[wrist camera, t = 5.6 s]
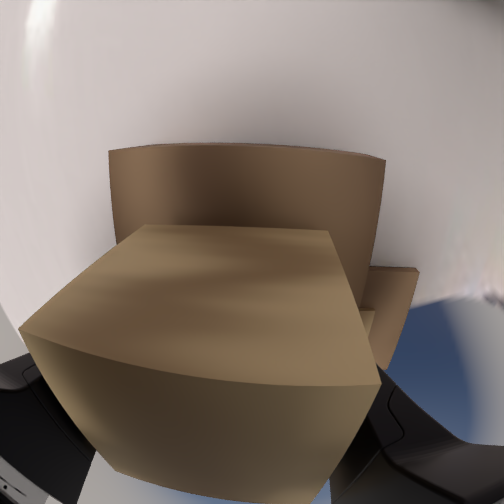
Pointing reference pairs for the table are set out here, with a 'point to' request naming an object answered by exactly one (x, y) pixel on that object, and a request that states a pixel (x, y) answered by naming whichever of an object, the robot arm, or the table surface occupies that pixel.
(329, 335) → the oak cube
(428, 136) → the table surface
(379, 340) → the swatch
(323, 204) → the tan flat square block
